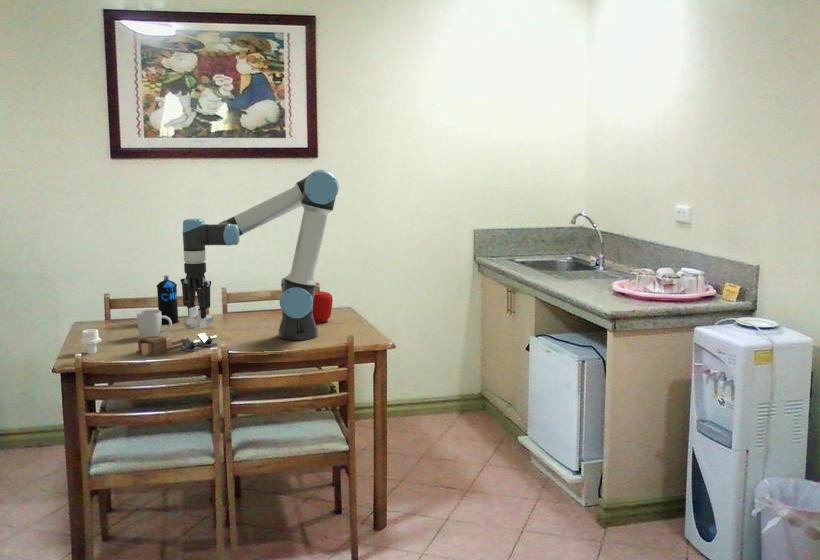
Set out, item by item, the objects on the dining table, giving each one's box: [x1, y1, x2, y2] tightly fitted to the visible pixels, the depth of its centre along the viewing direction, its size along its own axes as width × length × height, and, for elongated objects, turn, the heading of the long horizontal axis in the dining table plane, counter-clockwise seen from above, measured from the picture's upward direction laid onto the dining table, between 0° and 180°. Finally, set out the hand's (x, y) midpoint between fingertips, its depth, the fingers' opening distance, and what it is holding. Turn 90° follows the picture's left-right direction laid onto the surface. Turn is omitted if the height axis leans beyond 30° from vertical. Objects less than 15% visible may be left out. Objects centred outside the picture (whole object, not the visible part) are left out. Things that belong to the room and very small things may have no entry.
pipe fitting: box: [79, 328, 102, 355], centre depth 276 cm, size 6×7×8 cm
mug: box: [136, 309, 173, 337], centre depth 299 cm, size 13×9×10 cm
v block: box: [179, 332, 218, 353], centre depth 283 cm, size 7×11×4 cm, turn 148°
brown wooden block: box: [141, 337, 173, 356], centre depth 278 cm, size 3×10×4 cm, turn 148°
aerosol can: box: [156, 274, 180, 326], centre depth 325 cm, size 8×8×20 cm
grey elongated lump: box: [183, 314, 214, 330], centre depth 282 cm, size 10×4×4 cm, turn 148°
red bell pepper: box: [313, 289, 334, 324], centre depth 327 cm, size 10×10×14 cm
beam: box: [135, 335, 184, 357], centre depth 281 cm, size 9×21×5 cm, turn 148°
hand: (197, 326), depth 282 cm, fingers closed on grey elongated lump, 4 cm apart
